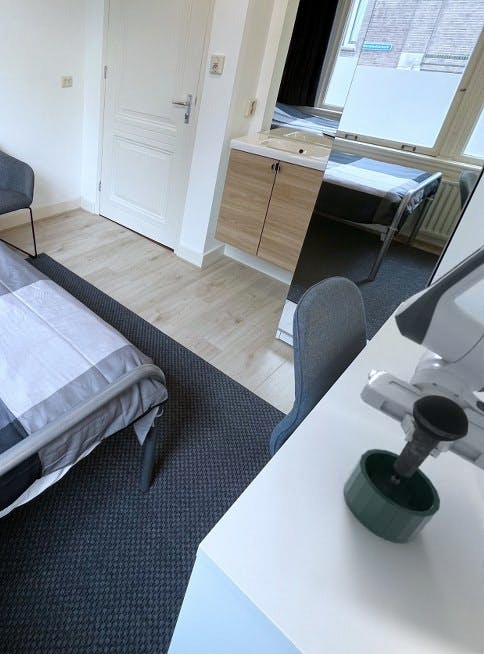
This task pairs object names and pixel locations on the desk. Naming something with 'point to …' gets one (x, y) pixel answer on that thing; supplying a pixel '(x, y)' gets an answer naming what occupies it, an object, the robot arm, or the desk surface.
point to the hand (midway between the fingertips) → (422, 446)
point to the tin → (390, 497)
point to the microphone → (430, 432)
